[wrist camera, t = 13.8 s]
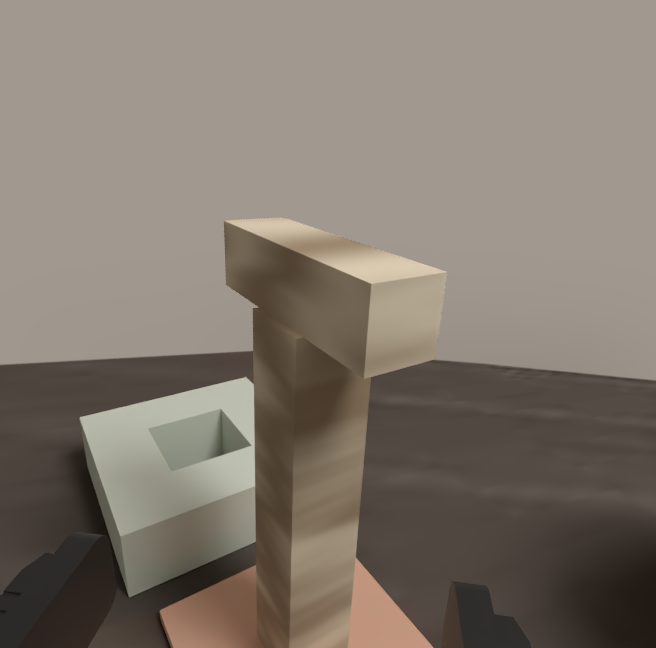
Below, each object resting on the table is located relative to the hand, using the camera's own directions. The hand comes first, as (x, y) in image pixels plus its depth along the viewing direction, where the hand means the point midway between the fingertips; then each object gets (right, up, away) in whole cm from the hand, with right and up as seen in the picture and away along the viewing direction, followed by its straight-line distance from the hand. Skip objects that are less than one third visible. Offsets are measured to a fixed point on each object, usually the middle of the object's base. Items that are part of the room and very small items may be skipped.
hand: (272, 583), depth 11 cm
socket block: (-7, -5, +21) cm, 23 cm away
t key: (0, -9, +11) cm, 14 cm away
